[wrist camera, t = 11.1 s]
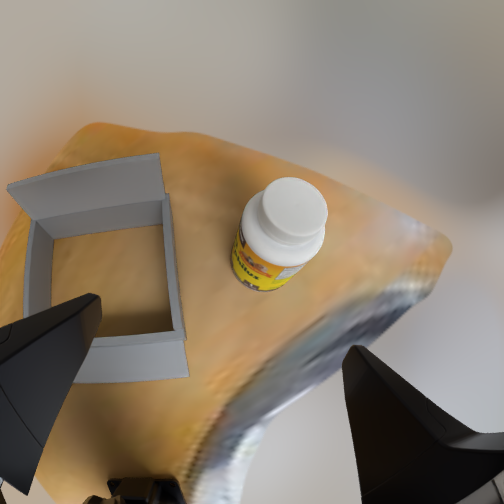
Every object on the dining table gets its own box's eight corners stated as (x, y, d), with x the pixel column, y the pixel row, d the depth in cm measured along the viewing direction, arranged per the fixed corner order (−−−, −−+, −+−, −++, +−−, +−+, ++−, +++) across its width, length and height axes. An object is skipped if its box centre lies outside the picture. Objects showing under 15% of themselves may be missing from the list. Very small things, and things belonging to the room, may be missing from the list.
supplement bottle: (220, 245, 25) (232, 175, 15) (275, 228, 26) (313, 159, 17) (243, 303, 23) (273, 263, 14) (300, 281, 25) (356, 232, 15)
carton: (193, 375, 20) (186, 387, 12) (52, 382, 17) (-11, 383, 9) (172, 217, 25) (163, 151, 17) (50, 234, 22) (5, 184, 14)
